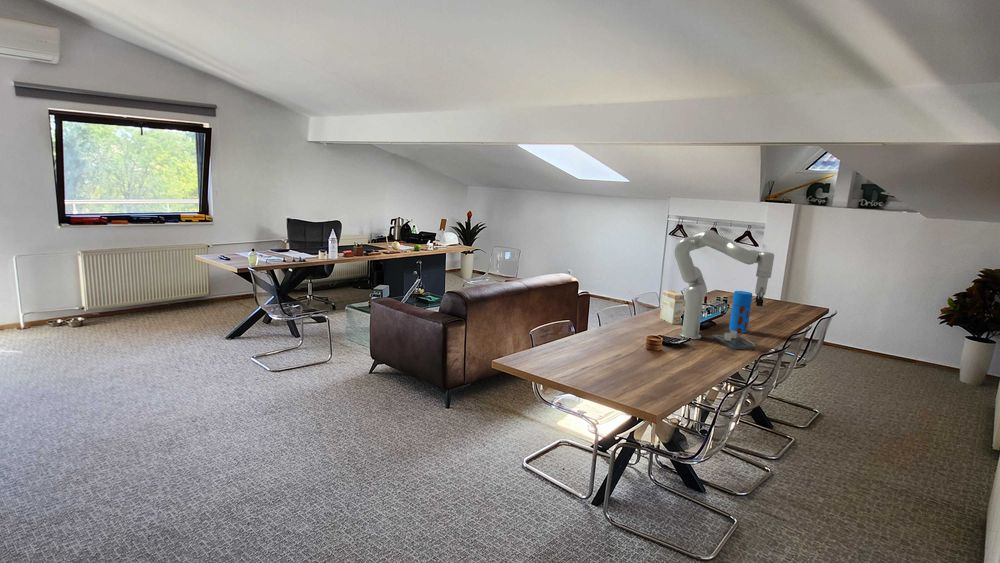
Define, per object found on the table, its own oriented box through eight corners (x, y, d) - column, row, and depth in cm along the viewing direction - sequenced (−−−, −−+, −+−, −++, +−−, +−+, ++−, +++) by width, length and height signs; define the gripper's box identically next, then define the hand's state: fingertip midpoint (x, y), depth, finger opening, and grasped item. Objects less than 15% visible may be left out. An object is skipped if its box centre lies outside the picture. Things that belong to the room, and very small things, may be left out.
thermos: (729, 327, 362) (734, 289, 357) (747, 330, 357) (752, 292, 353) (728, 331, 352) (733, 292, 347) (746, 334, 348) (752, 295, 343)
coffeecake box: (681, 324, 363) (684, 295, 360) (671, 324, 361) (675, 295, 358) (668, 318, 377) (671, 290, 374) (659, 318, 375) (662, 290, 372)
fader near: (724, 339, 324) (725, 332, 323) (727, 339, 324) (728, 332, 324) (726, 340, 321) (727, 333, 320) (730, 340, 321) (731, 333, 321)
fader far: (729, 336, 330) (730, 329, 329) (733, 336, 330) (734, 330, 329) (732, 338, 327) (733, 331, 326) (736, 338, 327) (737, 331, 326)
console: (710, 338, 334) (711, 332, 333) (732, 338, 336) (733, 332, 335) (731, 349, 312) (732, 343, 312) (754, 349, 315) (755, 343, 314)
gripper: (755, 271, 318) (751, 300, 321) (757, 275, 302) (752, 306, 306) (770, 273, 315) (765, 302, 319) (772, 277, 300) (767, 308, 303)
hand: (758, 304), depth 312 cm, fingers open, 9 cm apart
